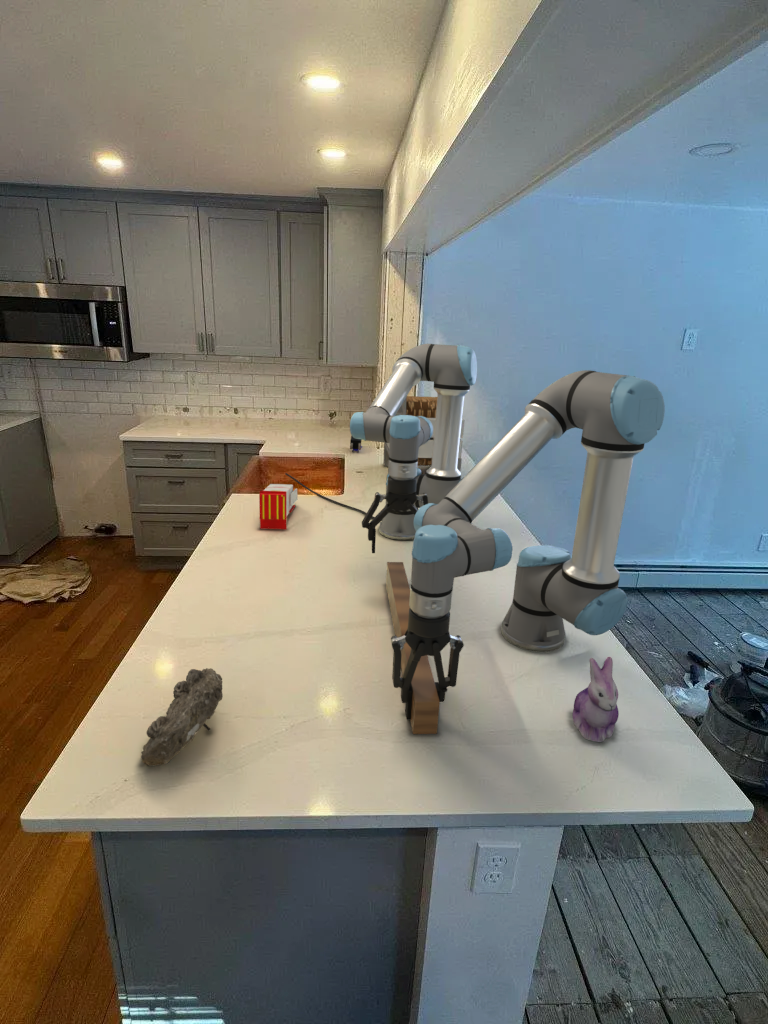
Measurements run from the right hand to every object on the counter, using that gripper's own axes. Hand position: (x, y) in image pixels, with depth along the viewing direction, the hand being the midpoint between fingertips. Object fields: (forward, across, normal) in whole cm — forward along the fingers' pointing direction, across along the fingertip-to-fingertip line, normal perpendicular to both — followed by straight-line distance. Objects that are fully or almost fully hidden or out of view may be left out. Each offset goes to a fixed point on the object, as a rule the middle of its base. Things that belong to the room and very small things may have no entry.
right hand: (421, 714), depth 111 cm
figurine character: (+1, -5, +216) cm, 216 cm away
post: (+1, 0, +25) cm, 25 cm away
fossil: (+1, -44, -2) cm, 44 cm away
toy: (+1, -38, +111) cm, 117 cm away
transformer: (+1, +24, +173) cm, 175 cm away
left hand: (-12, 0, +51) cm, 52 cm away
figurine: (+1, +33, -4) cm, 34 cm away
